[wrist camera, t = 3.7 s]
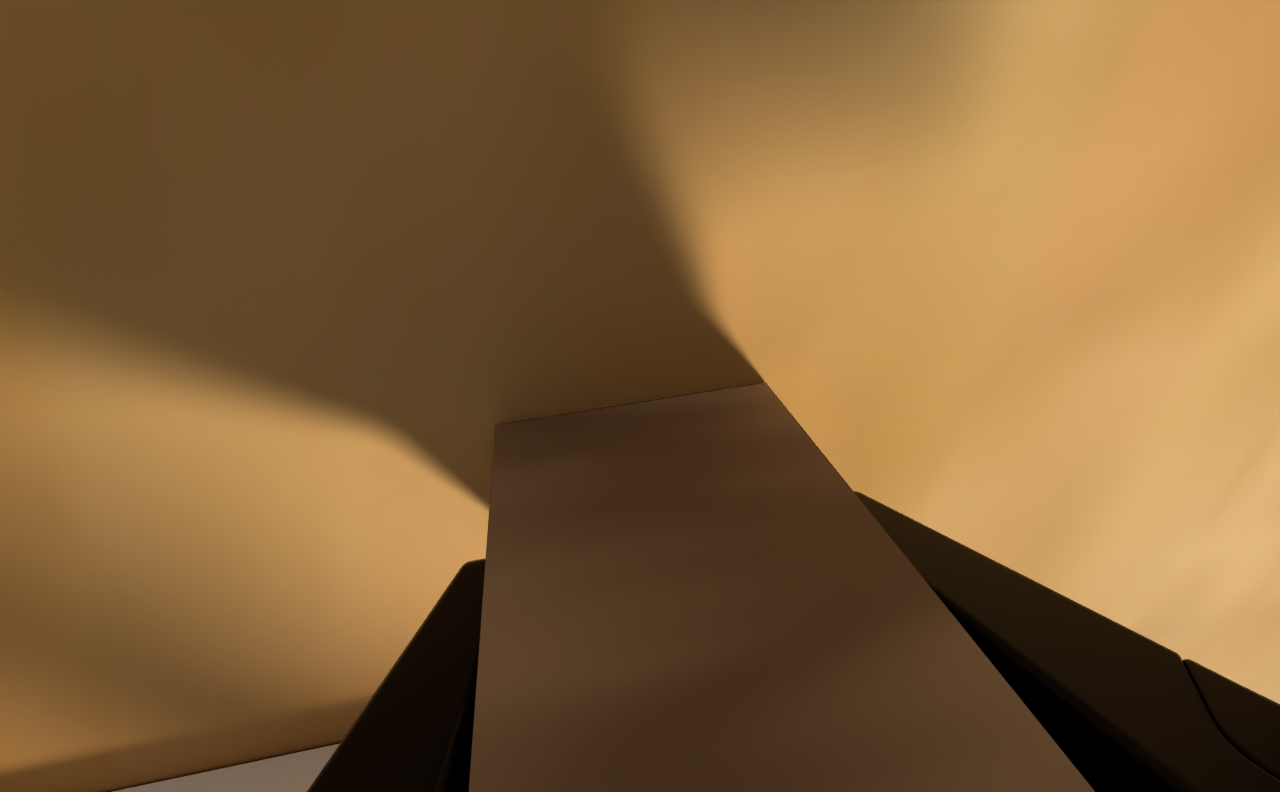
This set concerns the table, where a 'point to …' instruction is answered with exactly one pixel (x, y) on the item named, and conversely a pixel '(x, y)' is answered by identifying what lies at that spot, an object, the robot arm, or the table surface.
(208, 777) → the light grey flat slab
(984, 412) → the table surface
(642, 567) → the brown wooden beam
